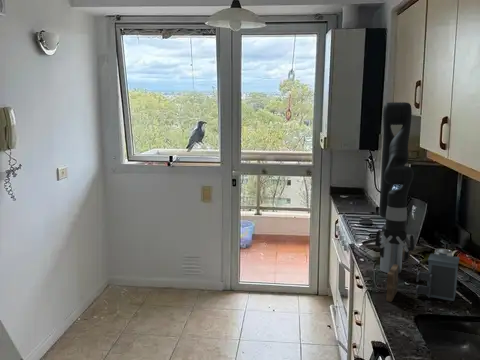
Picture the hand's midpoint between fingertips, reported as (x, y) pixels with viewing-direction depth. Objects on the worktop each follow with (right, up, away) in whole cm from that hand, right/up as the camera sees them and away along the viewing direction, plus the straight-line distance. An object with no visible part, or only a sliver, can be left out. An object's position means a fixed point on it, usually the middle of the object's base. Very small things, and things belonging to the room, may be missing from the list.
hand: (393, 258), depth 188 cm
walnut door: (0, -15, +3) cm, 15 cm away
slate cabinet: (+17, -15, +3) cm, 23 cm away
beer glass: (+24, -14, +13) cm, 30 cm away
